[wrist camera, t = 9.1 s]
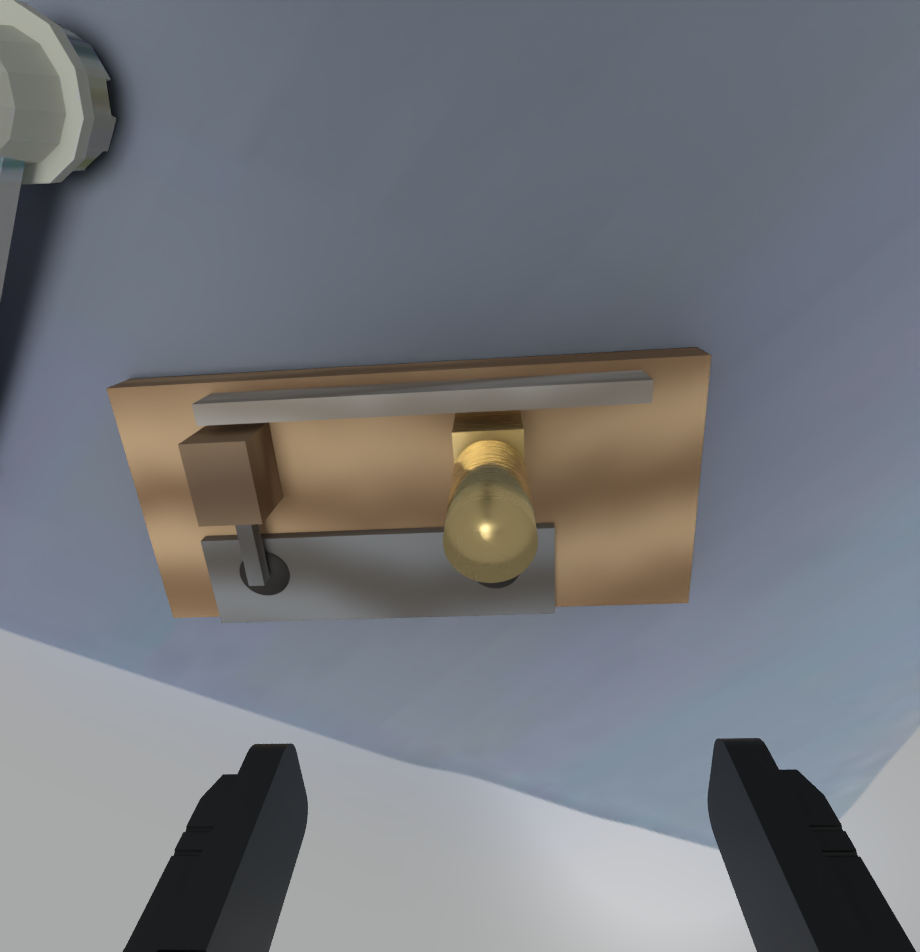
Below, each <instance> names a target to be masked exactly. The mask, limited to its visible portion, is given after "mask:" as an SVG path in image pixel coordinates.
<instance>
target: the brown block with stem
mask: <svg viewBox="0 0 920 952" xmlns="http://www.w3.org/2000/svg"><path fill="white" fill-rule="evenodd" d="M178 447H179V451H180V455H181V459H182V463H183V467H184V470H185V474H186V478H187V482H188V486H189V490H190V494H191V498H192V502H193V506H194V510H195V514H196V517H197V521H198V525H199V527H203V526H228V525H235V528H236V532H237V536H238V541H239V545H240V549H241V554H242V558H243V562H244V567H245V571H246V576H247V580H248V584H249V586H265V584H266V582H267V581H268V579H269V578H270V575H269V571H268V566H267V561H266V557H265V552H264V547H263V543H262V538H261V533H260V528H259V524H263V523H264V522H265V520H266V519H267V518H268V516H269V515H270V514H271V513H272V511H273V510H274V509H275V507H276V506H277V505H278V504H279V502H280V501H281V500H282V498H283V493H282V488H281V482H280V477H279V472H278V467H277V462H276V456H275V451H274V446H273V441H272V436H271V430H270V425H269V422H268V423H248V424H228V425H208V426H204V427H203V428H201V429H200V430H199V431H197V432H196V433H194V434H193V435H191V436H190V437H188V438H187V439H185V440H184V441H182V442H181V443H179V444H178Z"/></svg>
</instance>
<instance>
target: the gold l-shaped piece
mask: <svg viewBox="0 0 920 952" xmlns="http://www.w3.org/2000/svg"><path fill="white" fill-rule="evenodd" d="M452 442H453V456H454V467H453V473H452V480H451V487H450V494H449V500H448V507H447V514H446V520H445V527H444V534H443V547H444V551H445V555H446V557H447V559H448V561H449V562H450V564H451V565H452V566H453V567H454V568H455V569H456V570H457V571H458V572H459V573H461V574H462V575H464V576H465V577H467V578H469V579H472V580H475V581H478V582H484V583H498V582H503V581H507V580H510V579H512V578H514V577H516V576H518V575H519V574H521V573H522V572H523V571H524V570H525V569H526V568H527V567H528V566H529V565H530V564H531V562H532V561H533V559H534V557H535V554H536V552H537V547H538V535H537V528H536V522H535V516H534V510H533V504H532V498H531V492H530V486H529V480H528V474H527V468H526V464H525V462H524V428H523V423H522V417H521V412H520V410H506V411H486V412H466V413H455V418H454V423H453V429H452Z"/></svg>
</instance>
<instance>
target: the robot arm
mask: <svg viewBox="0 0 920 952" xmlns="http://www.w3.org/2000/svg"><path fill="white" fill-rule="evenodd" d="M708 811H709V817H710V822H711V827H712V830H713V833H714V836H715V839H716V842H717V844H718V847H719V850H720V853H721V855H722V858H723V860H724V863H725V866H726V869H727V871H728V874H729V877H730V879H731V882H732V885H733V888H734V890H735V893H736V896H737V899H738V901H739V904H740V907H741V909H742V912H743V915H744V917H745V920H746V923H747V925H748V928H749V931H750V934H751V936H752V939H753V942H754V945H755V947H756V950H757V952H916V951H915V949H914V948H913V946H912V944H911V942H910V940H909V939H908V937H907V936H906V934H905V932H904V930H903V929H902V927H901V925H900V923H899V922H898V920H897V919H896V917H895V915H894V913H893V912H892V910H891V908H890V907H889V905H888V903H887V901H886V900H885V898H884V896H883V895H882V893H881V891H880V890H879V888H878V886H877V885H876V883H875V881H874V879H873V878H872V876H871V875H870V872H869V871H868V869H867V867H866V866H865V864H864V862H863V861H862V859H861V857H858V855H857V852H856V849H855V847H854V846H853V844H852V842H851V840H850V838H849V837H848V835H847V833H846V832H845V831H843V830H842V825H841V823H840V821H839V820H838V818H837V816H836V815H835V813H834V811H833V810H832V808H831V806H830V804H829V803H828V801H827V799H826V798H825V796H824V795H823V794H822V793H821V792H820V791H819V790H818V789H817V788H816V787H815V786H814V785H813V784H812V783H811V782H810V781H808V780H807V779H806V778H805V777H804V776H803V775H802V774H801V773H800V772H799V771H798V770H779V769H778V767H777V765H776V763H775V761H774V759H773V758H772V756H771V754H770V752H769V750H768V748H767V747H766V745H765V743H764V742H763V741H762V740H761V739H759V738H735V739H717V740H716V741H715V744H714V750H713V758H712V766H711V774H710V781H709V789H708ZM307 815H308V802H307V795H306V791H305V787H304V782H303V778H302V774H301V770H300V765H299V761H298V756H297V752H296V749H295V746H294V745H293V744H255V745H253V746H252V747H251V748H250V749H249V751H248V753H247V755H246V757H245V759H244V761H243V763H242V766H241V768H240V770H239V772H238V774H229V775H222V776H221V778H219V779H218V781H217V782H216V783H215V784H214V785H213V786H212V787H211V788H210V789H209V790H208V791H207V792H206V793H205V795H203V797H202V798H201V799H200V801H199V803H198V805H197V807H196V809H195V811H194V813H193V814H192V816H191V819H190V820H189V822H188V824H187V826H186V827H187V828H186V832H184V833H183V834H182V837H181V838H180V840H179V842H178V844H177V846H176V848H175V853H174V856H171V858H170V860H169V862H168V864H167V866H166V868H165V870H164V872H163V874H162V876H161V878H160V880H159V882H158V884H157V886H156V888H155V890H154V892H153V894H152V896H151V898H150V900H149V902H148V904H147V906H146V908H145V910H144V912H143V914H142V916H141V918H140V919H139V921H138V924H137V925H136V927H135V929H134V931H133V933H132V935H131V937H130V939H129V941H128V943H127V945H126V947H125V949H124V950H123V952H269V949H270V945H271V942H272V939H273V936H274V932H275V929H276V926H277V923H278V919H279V916H280V912H281V909H282V906H283V903H284V900H285V896H286V893H287V890H288V886H289V883H290V880H291V877H292V873H293V870H294V867H295V863H296V860H297V857H298V854H299V850H300V847H301V844H302V840H303V837H304V833H305V829H306V824H307Z"/></svg>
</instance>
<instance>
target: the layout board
mask: <svg viewBox="0 0 920 952" xmlns="http://www.w3.org/2000/svg"><path fill="white" fill-rule="evenodd" d="M710 364H711V355H710V354H709V353H707V352H705V351H703V350H701V349H699V348H697V347H690V348H672V349H655V350H637V351H619V352H601V353H583V354H565V355H547V356H530V357H512V358H494V359H476V360H458V361H440V362H423V363H405V364H387V365H369V366H351V367H333V368H316V369H298V370H280V371H262V372H244V373H226V374H208V375H191V376H173V377H155V378H137V379H129V380H126V381H124V382H121V383H119V384H116V385H114V386H111V387H109V388H107V392H108V395H109V398H110V402H111V405H112V409H113V412H114V416H115V419H116V422H117V426H118V429H119V433H120V436H121V440H122V443H123V446H124V450H125V453H126V457H127V460H128V464H129V467H130V470H131V474H132V477H133V481H134V484H135V488H136V491H137V494H138V498H139V501H140V505H141V508H142V512H143V515H144V518H145V522H146V525H147V529H148V532H149V536H150V539H151V543H152V546H153V549H154V553H155V556H156V560H157V563H158V567H159V570H160V573H161V577H162V580H163V584H164V587H165V591H166V594H167V597H168V601H169V604H170V608H171V611H172V615H173V618H183V617H217V616H220V619H221V623H233V622H268V621H304V620H339V619H375V618H410V617H446V616H481V615H517V614H552V613H555V607H564V606H598V605H633V604H668V603H688V601H689V590H690V579H691V568H692V558H693V547H694V536H695V525H696V515H697V504H698V493H699V482H700V472H701V461H702V450H703V439H704V429H705V418H706V407H707V396H708V386H709V375H710ZM506 410H520V412H521V417H522V423H523V428H524V462H525V464H526V468H527V474H528V480H529V486H530V492H531V498H532V504H533V510H534V516H535V522H536V528H537V535H538V547H537V552H536V554H535V557H534V559H533V561H532V562H531V564H530V565H529V566H528V567H527V568H526V569H525V570H524V571H523V572H522V573H521V574H519V575H518V576H516V577H514V578H512V579H510V580H507V581H503V582H498V583H484V582H478V581H475V580H472V579H469V578H467V577H465V576H464V575H462V574H461V573H459V572H458V571H457V570H456V569H455V568H454V567H453V566H452V565H451V564H450V562H449V561H448V559H447V557H446V555H445V551H444V547H443V534H444V527H445V520H446V514H447V507H448V500H449V494H450V487H451V480H452V473H453V467H454V456H453V442H452V429H453V423H454V418H455V413H466V412H486V411H506ZM268 422H269V425H270V430H271V436H272V441H273V446H274V451H275V456H276V462H277V467H278V472H279V477H280V482H281V488H282V493H283V498H282V500H281V501H280V502H279V504H278V505H277V506H276V507H275V509H274V510H273V511H272V513H271V514H270V515H269V516H268V518H267V519H266V520H265V522H264V523H263V524H259V528H260V533H261V538H262V543H263V547H264V552H265V557H266V561H267V566H268V571H269V575H270V578H269V579H268V581H267V582H266V584H265V586H249V584H248V580H247V576H246V571H245V567H244V562H243V558H242V554H241V549H240V545H239V541H238V536H237V532H236V528H235V525H228V526H203V527H199V525H198V521H197V517H196V514H195V510H194V506H193V502H192V498H191V494H190V490H189V486H188V482H187V478H186V474H185V470H184V467H183V463H182V459H181V455H180V451H179V447H178V444H179V443H181V442H182V441H184V440H185V439H187V438H188V437H190V436H191V435H193V434H194V433H196V432H197V431H199V430H200V429H201V428H203V427H204V426H208V425H228V424H248V423H268Z"/></svg>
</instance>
